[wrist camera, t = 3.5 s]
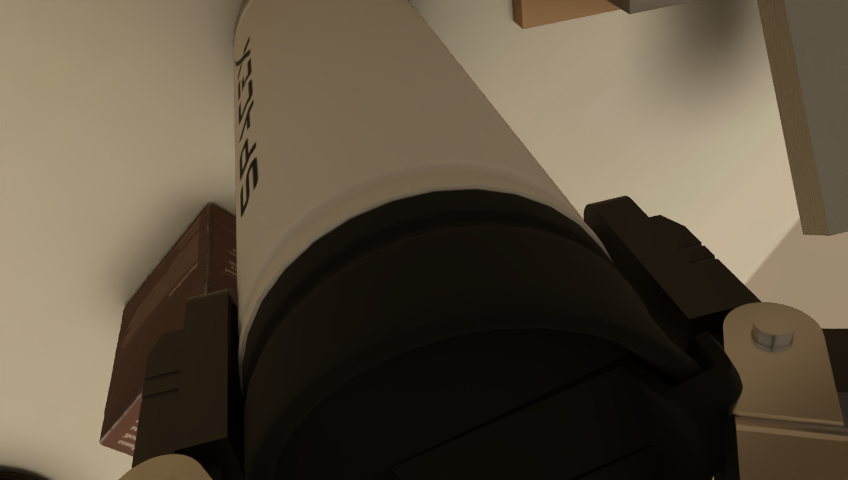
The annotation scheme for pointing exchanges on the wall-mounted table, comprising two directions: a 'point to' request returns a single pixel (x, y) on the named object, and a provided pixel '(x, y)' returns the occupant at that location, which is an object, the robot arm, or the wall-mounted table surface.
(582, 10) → the grey walled square tray
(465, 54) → the wall-mounted table surface
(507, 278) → the travel mug
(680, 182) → the wall-mounted table surface
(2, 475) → the supplement container
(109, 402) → the box
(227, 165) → the wall-mounted table surface
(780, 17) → the grey rectangular block
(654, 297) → the robot arm
